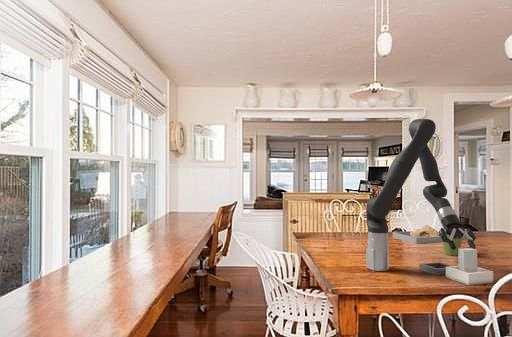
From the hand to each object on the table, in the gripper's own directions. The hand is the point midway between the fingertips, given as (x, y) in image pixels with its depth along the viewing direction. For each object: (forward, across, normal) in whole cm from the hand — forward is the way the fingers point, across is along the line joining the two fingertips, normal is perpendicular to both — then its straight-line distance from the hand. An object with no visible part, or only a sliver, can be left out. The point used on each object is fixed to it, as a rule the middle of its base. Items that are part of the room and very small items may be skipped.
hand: (464, 249), depth 171 cm
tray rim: (-57, +29, +74) cm, 97 cm away
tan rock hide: (-53, +30, +71) cm, 94 cm away
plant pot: (-23, +22, +41) cm, 52 cm away
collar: (0, -4, +18) cm, 18 cm away
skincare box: (+10, 0, +7) cm, 12 cm away
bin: (+10, 0, +7) cm, 13 cm away
